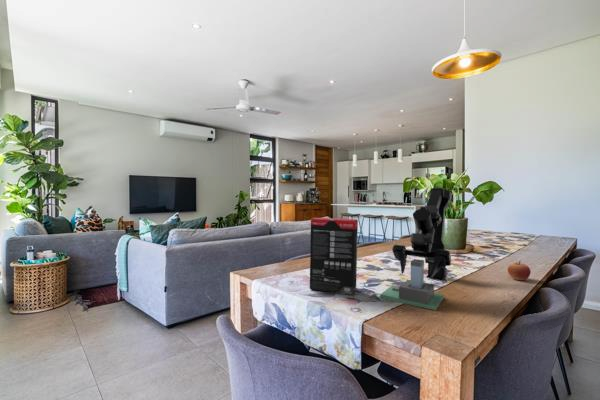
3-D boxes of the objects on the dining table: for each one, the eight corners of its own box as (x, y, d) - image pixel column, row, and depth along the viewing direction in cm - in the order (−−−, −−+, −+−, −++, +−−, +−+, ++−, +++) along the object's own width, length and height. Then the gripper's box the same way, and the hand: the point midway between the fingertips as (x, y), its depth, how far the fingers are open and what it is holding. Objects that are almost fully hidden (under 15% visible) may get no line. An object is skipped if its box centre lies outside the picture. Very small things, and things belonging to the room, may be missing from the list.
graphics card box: (357, 290, 109) (358, 218, 108) (354, 296, 102) (355, 219, 102) (314, 285, 115) (314, 216, 114) (308, 290, 108) (309, 218, 107)
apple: (520, 276, 128) (520, 258, 128) (535, 282, 120) (535, 263, 120) (502, 276, 128) (503, 258, 128) (516, 282, 120) (517, 263, 120)
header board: (380, 297, 101) (380, 283, 101) (392, 288, 112) (392, 274, 111) (435, 310, 91) (436, 293, 90) (443, 298, 101) (443, 283, 101)
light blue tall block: (410, 297, 98) (410, 261, 98) (413, 294, 101) (414, 259, 101) (420, 300, 96) (420, 262, 96) (423, 296, 99) (423, 260, 99)
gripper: (394, 222, 107) (383, 257, 98) (450, 226, 96) (443, 266, 87) (400, 241, 113) (390, 275, 105) (453, 246, 102) (447, 285, 94)
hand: (416, 275), depth 97 cm, fingers open, 9 cm apart
